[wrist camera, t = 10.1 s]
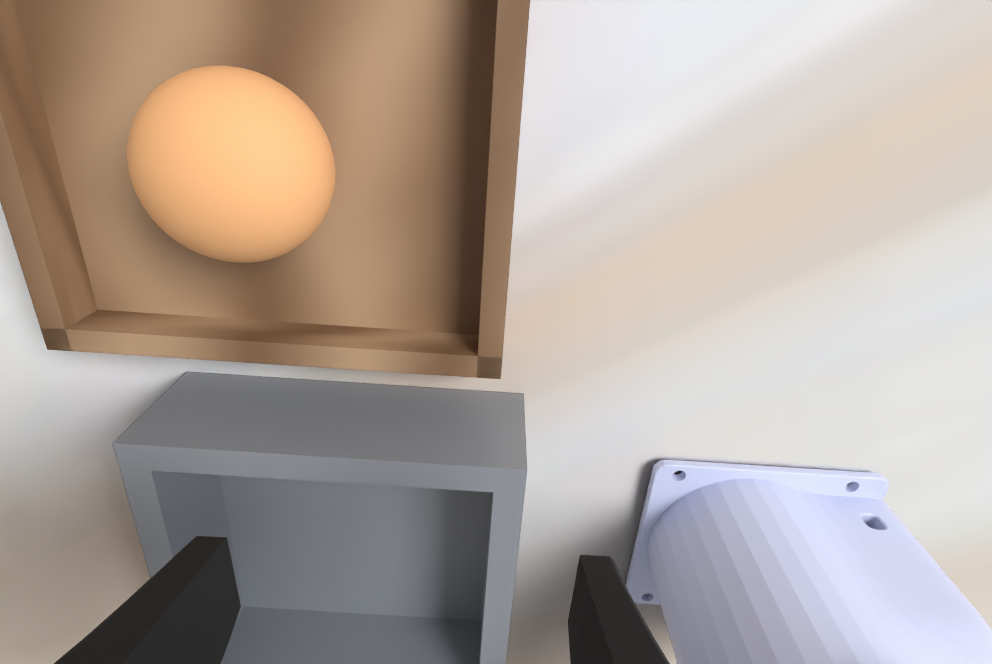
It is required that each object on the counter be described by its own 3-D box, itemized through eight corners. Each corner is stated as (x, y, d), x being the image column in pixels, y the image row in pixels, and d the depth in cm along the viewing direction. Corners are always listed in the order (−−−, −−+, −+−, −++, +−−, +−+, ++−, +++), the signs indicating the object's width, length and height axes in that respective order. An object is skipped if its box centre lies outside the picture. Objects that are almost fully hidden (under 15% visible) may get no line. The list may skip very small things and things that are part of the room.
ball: (349, 71, 16) (293, 74, 12) (357, 239, 19) (312, 295, 14) (175, 59, 16) (50, 57, 12) (202, 229, 18) (106, 283, 14)
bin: (523, 393, 22) (527, 469, 18) (500, 621, 27) (499, 718, 23) (186, 371, 22) (112, 443, 18) (233, 605, 27) (185, 699, 23)
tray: (533, -80, 15) (538, -102, 13) (501, 346, 21) (500, 378, 19) (-23, -121, 15) (-111, -150, 13) (95, 319, 21) (47, 349, 19)
